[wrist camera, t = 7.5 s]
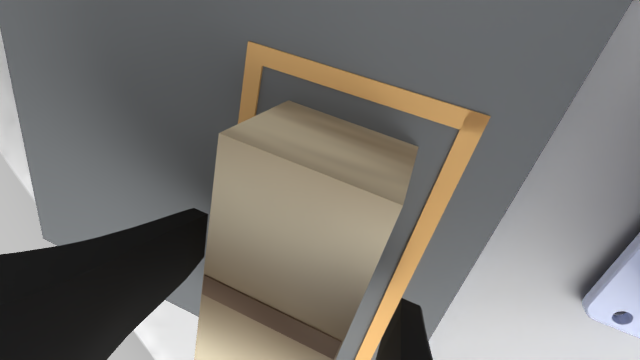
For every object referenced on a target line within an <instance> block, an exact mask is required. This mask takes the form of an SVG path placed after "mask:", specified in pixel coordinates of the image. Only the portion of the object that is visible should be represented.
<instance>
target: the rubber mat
mask: <svg viewBox="0 0 640 360" xmlns="http://www.w3.org/2000/svg"><path fill="white" fill-rule="evenodd" d="M632 1H633V0H0V29H1V33H2V38H3V43H4V48H5V53H6V58H7V63H8V68H9V73H10V78H11V83H12V88H13V92H14V97H15V102H16V107H17V112H18V117H19V122H20V127H21V132H22V137H23V142H24V147H25V151H26V156H27V161H28V166H29V171H30V176H31V181H32V186H33V191H34V196H35V201H36V206H37V210H38V215H39V220H40V225H41V230H42V235H43V238H44V239H45V240H47V241H49V242H51V243H53V244H55V245H57V246H61V245H65V244H70V243H75V242H80V241H84V240H88V239H92V238H96V237H100V236H104V235H107V234H111V233H115V232H118V231H122V230H125V229H129V228H132V227H135V226H138V225H142V224H145V223H148V222H151V221H154V220H157V219H160V218H163V217H166V216H169V215H172V214H175V213H178V212H181V211H185V210H188V209H192V208H195V209H198V210H200V211H202V212H205V213H207V214H208V222H207V233H206V244H205V255H204V258H203V259H202V260H201V262H200V263H199V264H198V265H197V267H196V268H195V269H194V270H193V272H192V273H191V274H190V275H189V276H188V278H187V279H186V280H185V281H184V282H183V283H182V284H181V285H180V286H179V287H178V288H177V289H176V290H175V291H174V292H172V293H171V294H170V295H169V296H168V297H167V298H166V299H165V300H167V301H168V302H170V303H172V304H174V305H176V306H178V307H180V308H182V309H184V310H186V311H188V312H190V313H192V314H194V315H196V316H198V317H199V311H200V302H201V293H202V284H203V274H204V265H205V256H206V247H207V237H208V228H209V219H210V210H211V201H212V191H213V182H214V173H215V164H216V155H217V145H218V136H219V133H220V132H222V131H224V130H227V129H229V128H231V127H233V126H235V125H237V124H239V123H241V122H244V121H246V120H248V119H250V118H252V117H254V116H256V115H258V114H261V113H263V112H265V111H267V110H269V109H271V108H273V107H275V106H278V105H280V104H282V103H284V102H286V101H288V100H289V101H292V102H295V103H297V104H300V105H303V106H306V107H309V108H311V109H314V110H317V111H320V112H323V113H325V114H328V115H331V116H334V117H337V118H339V119H342V120H345V121H348V122H351V123H354V124H356V125H359V126H362V127H365V128H368V129H370V130H373V131H376V132H379V133H382V134H384V135H387V136H390V137H393V138H396V139H398V140H401V141H404V142H407V143H410V144H412V145H415V146H418V147H419V148H418V151H417V155H416V159H415V163H414V166H413V170H412V174H411V178H410V181H409V185H408V189H407V193H406V197H405V200H404V204H403V207H402V209H401V212H400V214H399V216H398V218H397V221H396V223H395V225H394V227H393V230H392V232H391V234H390V237H389V239H388V241H387V243H386V246H385V248H384V250H383V253H382V255H381V257H380V259H379V262H378V264H377V266H376V269H375V271H374V273H373V275H372V278H371V280H370V282H369V284H368V287H367V289H366V291H365V294H364V296H363V298H362V300H361V303H360V305H359V307H358V310H357V312H356V314H355V316H354V319H353V321H352V323H351V326H350V328H349V330H348V332H347V335H346V337H345V339H344V341H343V344H342V346H341V348H340V351H339V353H338V355H337V357H336V360H376V356H377V353H378V349H379V345H380V342H381V338H382V336H383V334H384V332H385V330H386V328H387V326H388V324H389V322H390V320H391V318H392V316H393V314H394V312H395V310H396V308H397V306H398V304H399V302H400V300H401V298H403V299H406V300H408V301H410V302H413V303H415V304H417V305H420V306H421V308H422V312H423V318H424V324H425V329H426V333H427V338H428V341H429V339H430V337H431V336H432V334H433V332H434V331H435V329H436V327H437V326H438V324H439V322H440V321H441V319H442V317H443V316H444V314H445V312H446V311H447V309H448V307H449V306H450V304H451V302H452V301H453V299H454V297H455V296H456V294H457V292H458V291H459V289H460V287H461V286H462V284H463V282H464V281H465V279H466V277H467V276H468V274H469V272H470V271H471V269H472V267H473V266H474V264H475V262H476V261H477V259H478V257H479V256H480V254H481V252H482V251H483V249H484V247H485V246H486V244H487V242H488V241H489V239H490V237H491V236H492V234H493V232H494V231H495V229H496V227H497V226H498V224H499V222H500V221H501V219H502V217H503V216H504V214H505V212H506V211H507V209H508V207H509V206H510V204H511V202H512V201H513V199H514V197H515V196H516V194H517V192H518V191H519V189H520V187H521V186H522V184H523V182H524V181H525V179H526V177H527V176H528V174H529V172H530V171H531V169H532V167H533V166H534V164H535V162H536V161H537V159H538V157H539V156H540V154H541V152H542V151H543V149H544V147H545V146H546V144H547V142H548V141H549V139H550V137H551V136H552V134H553V132H554V131H555V129H556V127H557V126H558V124H559V122H560V121H561V119H562V117H563V116H564V114H565V112H566V111H567V109H568V107H569V106H570V104H571V102H572V101H573V99H574V97H575V96H576V94H577V92H578V91H579V89H580V87H581V86H582V84H583V82H584V81H585V79H586V77H587V76H588V74H589V72H590V71H591V69H592V67H593V66H594V64H595V62H596V61H597V59H598V57H599V56H600V54H601V52H602V51H603V49H604V47H605V46H606V44H607V42H608V41H609V39H610V37H611V36H612V34H613V32H614V31H615V29H616V27H617V26H618V24H619V22H620V21H621V19H622V17H623V16H624V14H625V12H626V11H627V9H628V7H629V6H630V4H631V2H632Z"/></svg>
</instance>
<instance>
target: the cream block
mask: <svg viewBox="0 0 640 360" xmlns="http://www.w3.org/2000/svg"><path fill="white" fill-rule="evenodd" d="M418 148H419V147H418V146H415V145H412V144H410V143H407V142H404V141H401V140H398V139H396V138H393V137H390V136H387V135H384V134H382V133H379V132H376V131H373V130H370V129H368V128H365V127H362V126H359V125H356V124H354V123H351V122H348V121H345V120H342V119H339V118H337V117H334V116H331V115H328V114H325V113H323V112H320V111H317V110H314V109H311V108H309V107H306V106H303V105H300V104H297V103H295V102H292V101H289V100H288V101H286V102H284V103H282V104H280V105H278V106H275V107H273V108H271V109H269V110H267V111H265V112H263V113H261V114H258V115H256V116H254V117H252V118H250V119H248V120H246V121H244V122H241V123H239V124H237V125H235V126H233V127H231V128H229V129H227V130H224V131H222V132H220V133H219V136H218V145H217V155H216V164H215V173H214V182H213V191H212V201H211V210H210V219H209V228H208V237H207V247H206V256H205V265H204V274H203V284H202V293H201V302H200V311H199V320H198V330H197V339H196V348H195V357H194V360H336V357H337V355H338V353H339V351H340V348H341V346H342V344H343V341H344V339H345V337H346V335H347V332H348V330H349V328H350V326H351V323H352V321H353V319H354V316H355V314H356V312H357V310H358V307H359V305H360V303H361V300H362V298H363V296H364V294H365V291H366V289H367V287H368V284H369V282H370V280H371V278H372V275H373V273H374V271H375V269H376V266H377V264H378V262H379V259H380V257H381V255H382V253H383V250H384V248H385V246H386V243H387V241H388V239H389V237H390V234H391V232H392V230H393V227H394V225H395V223H396V221H397V218H398V216H399V214H400V212H401V209H402V207H403V204H404V200H405V197H406V193H407V189H408V185H409V181H410V178H411V174H412V170H413V166H414V163H415V159H416V155H417V151H418Z"/></svg>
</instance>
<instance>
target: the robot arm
mask: <svg viewBox="0 0 640 360" xmlns="http://www.w3.org/2000/svg"><path fill="white" fill-rule="evenodd" d="M207 222H208V214H207V213H205V212H202V211H200V210H198V209H195V208H192V209H188V210H185V211H181V212H178V213H175V214H172V215H169V216H166V217H163V218H160V219H157V220H154V221H151V222H148V223H145V224H142V225H138V226H135V227H132V228H129V229H125V230H122V231H118V232H115V233H111V234H107V235H104V236H100V237H96V238H92V239H88V240H84V241H80V242H75V243H70V244H65V245H61V246H55V247H49V248H43V249H37V250H30V251H24V252H17V253H10V254H1V255H0V360H107V359H108V357H109V356H110V355H111V354H112V353H113V352H114V351H115V350H116V348H117V347H118V346H119V345H120V344H121V343H122V342H123V340H124V339H125V338H126V337H127V336H128V335H129V334H130V333H131V332H132V331H133V330H134V329H135V328H136V327H137V326H138V325H139V324H140V323H141V322H142V321H143V320H144V319H145V318H146V317H147V316H148V315H149V314H150V313H151V312H152V311H154V310H155V309H156V308H157V307H158V306H159V305H160V304H161V303H162V302H163V301H164V300H165V299H166V298H167V297H168V296H169V295H170V294H171V293H172V292H174V291H175V290H176V289H177V288H178V287H179V286H180V285H181V284H182V283H183V282H184V281H185V280H186V279H187V278H188V276H189V275H190V274H191V273H192V272H193V270H194V269H195V268H196V267H197V265H198V264H199V263H200V262H201V260H202V259H203V258H204V255H205V244H206V233H207ZM582 305H583V308H584V310H585V312H586V314H587V315H588V316H589V317H590V318H591V319H593V320H595V321H597V322H600V323H602V324H605V325H607V326H610V327H612V328H615V329H617V330H620V331H622V332H625V333H627V334H630V335H632V336H635V337H637V338H640V233H639V234H638V235H637V236H636V237H635V238H634V240H633V241H632V242H631V243H630V244H629V245H628V247H627V248H626V249H625V250H624V251H623V252H622V254H621V255H620V256H619V257H618V258H617V259H616V261H615V262H614V263H613V264H612V265H611V266H610V267H609V269H608V270H607V271H606V272H605V273H604V274H603V276H602V277H601V278H600V279H599V280H598V281H597V283H596V284H595V285H594V286H593V287H592V288H591V290H590V291H589V292H588V293H587V294H586V295H585V297H584V298H583V300H582ZM620 311H625V312H626V313H624V314H623V315H613V314H614V313H616V312H620ZM376 360H433V358H432V355H431V351H430V347H429V342H428V338H427V333H426V329H425V324H424V318H423V312H422V308H421V306H420V305H417V304H415V303H413V302H410V301H408V300H406V299H403V298H401V300H400V302H399V304H398V306H397V308H396V310H395V312H394V314H393V316H392V318H391V320H390V322H389V324H388V326H387V328H386V330H385V332H384V334H383V336H382V338H381V342H380V345H379V349H378V353H377V356H376Z"/></svg>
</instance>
